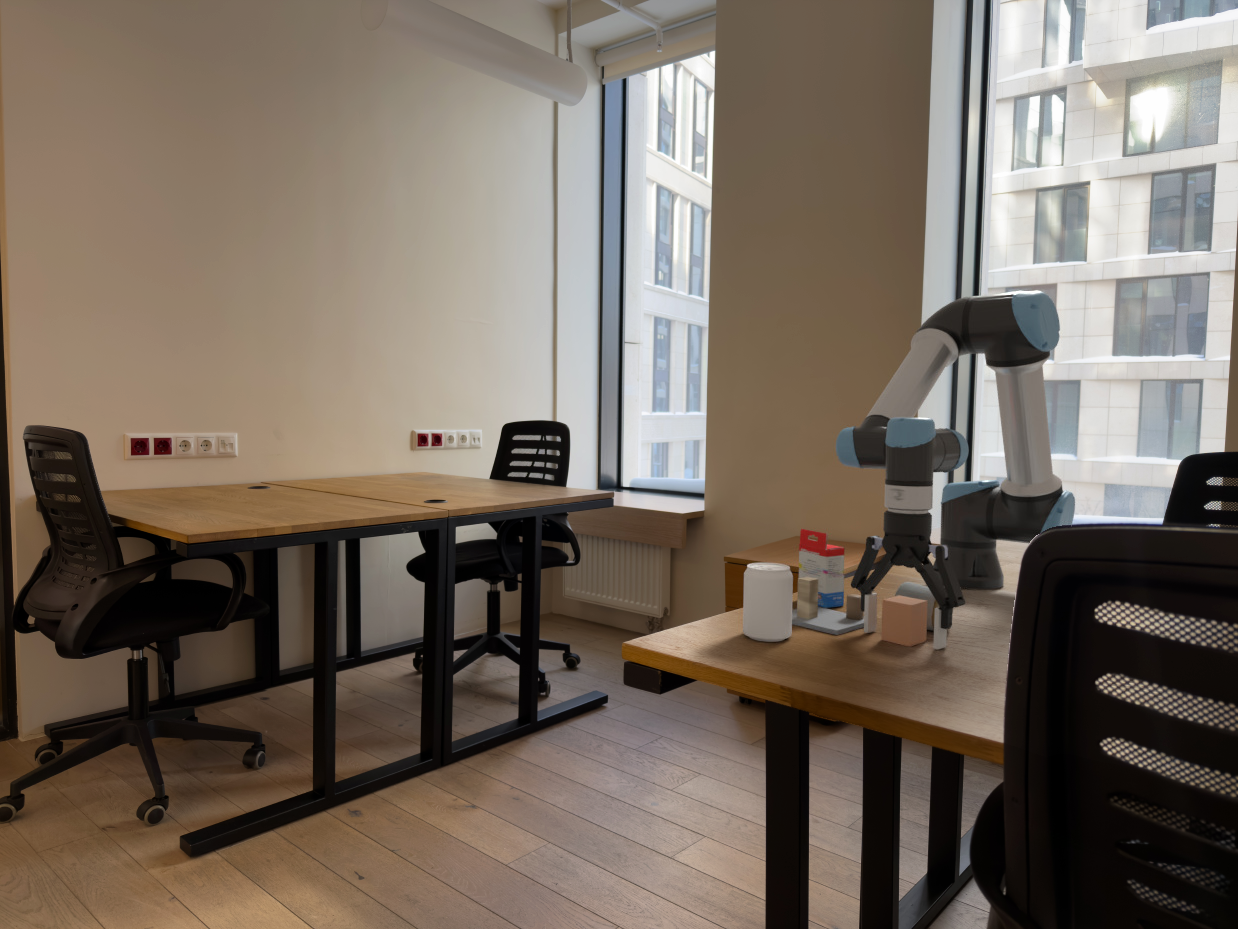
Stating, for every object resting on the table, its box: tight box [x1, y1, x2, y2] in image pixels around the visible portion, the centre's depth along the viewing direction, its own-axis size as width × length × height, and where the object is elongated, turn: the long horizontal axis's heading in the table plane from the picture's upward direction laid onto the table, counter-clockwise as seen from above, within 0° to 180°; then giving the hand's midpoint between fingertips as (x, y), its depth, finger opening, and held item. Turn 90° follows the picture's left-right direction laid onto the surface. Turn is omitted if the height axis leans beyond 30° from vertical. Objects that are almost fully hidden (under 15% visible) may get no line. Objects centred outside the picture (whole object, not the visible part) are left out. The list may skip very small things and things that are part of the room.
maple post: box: [796, 577, 819, 619], centre depth 148 cm, size 3×3×8 cm
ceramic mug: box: [894, 581, 954, 632], centre depth 146 cm, size 11×8×8 cm
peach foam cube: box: [880, 595, 928, 647], centre depth 136 cm, size 5×5×7 cm
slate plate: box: [792, 593, 864, 636], centre depth 148 cm, size 12×14×5 cm
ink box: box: [798, 528, 845, 609], centre depth 162 cm, size 8×5×15 cm, turn 27°
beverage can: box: [742, 562, 794, 643], centre depth 137 cm, size 8×8×12 cm
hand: (903, 639), depth 136 cm, fingers open, 12 cm apart
